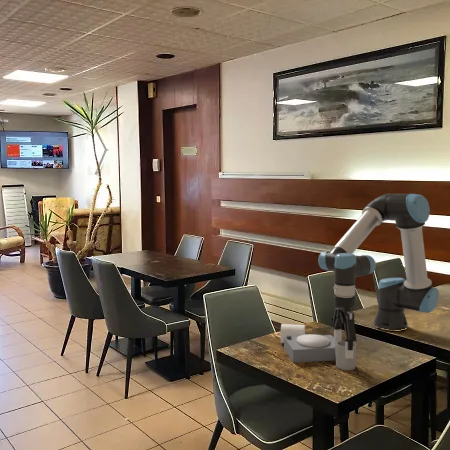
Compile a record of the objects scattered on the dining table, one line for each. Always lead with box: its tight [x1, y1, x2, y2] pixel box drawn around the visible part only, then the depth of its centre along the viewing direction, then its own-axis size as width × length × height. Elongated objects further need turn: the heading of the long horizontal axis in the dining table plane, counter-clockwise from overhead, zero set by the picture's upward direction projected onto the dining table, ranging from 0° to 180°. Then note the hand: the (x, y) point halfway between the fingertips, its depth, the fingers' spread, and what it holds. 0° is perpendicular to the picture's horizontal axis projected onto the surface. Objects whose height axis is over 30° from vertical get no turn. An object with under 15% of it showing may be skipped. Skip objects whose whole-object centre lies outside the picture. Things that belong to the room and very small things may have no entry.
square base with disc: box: [283, 333, 336, 363], centre depth 195 cm, size 20×15×6 cm
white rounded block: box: [280, 323, 306, 344], centre depth 210 cm, size 12×10×8 cm
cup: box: [335, 340, 357, 371], centre depth 182 cm, size 7×10×9 cm
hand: (343, 351), depth 183 cm, fingers open, 12 cm apart
